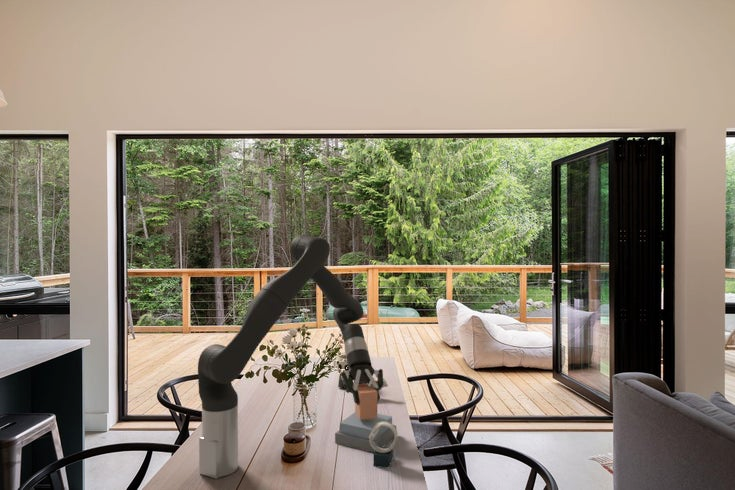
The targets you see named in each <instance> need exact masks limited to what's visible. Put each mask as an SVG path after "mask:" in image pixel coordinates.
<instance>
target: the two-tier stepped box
mask: <svg viewBox="0 0 735 490" xmlns="http://www.w3.org/2000/svg"><path fill="white" fill-rule="evenodd" d="M381 421H384V422H389V423H391V424H392V425H393V426H394V427H395V428H396V429H397V425H396V424H393V416H392V415H391V416H390V415H387V414H381V413H377V418H370V419H362V420H360V419H359V418H358V416H357V415H356V413H355V412H353V413H352V414H351V415H349V416H348V417H346V418H345V419H343V420H342V421H340V422H339V430H338V431H336V432H335V433H334V436H335V437H334V443H335V444H336V445H337V444H338V445H341V446H345V447H346V446H347V447H350V448H355V449H359V450H363V451H367V452H369V453H370V452H371V453H373V454H374V453H375V451H376V450H374V449H373V448H372V446H371V444H370V442H369V440H370V438H369V435H370V434H371V432H372V430H373V429H374V427H375V425H376V424H377V423H380V422H381ZM394 436H395V434H394V432H393V431H392V429H390V428H389V427H386V426H381V428H380V430H379V431H378V433H377V435H376V436H375V438H374V439H373V441H374V443H375V444H376V445H377V446H384V445H385V444H386V445H387V444H388V443H389V442H391V440H392V439H394ZM386 445H385V446H386ZM385 446H384V447H385Z"/></svg>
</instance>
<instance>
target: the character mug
mask: <svg viewBox="0 0 735 490" xmlns="http://www.w3.org/2000/svg"><path fill="white" fill-rule="evenodd" d="M340 355H341V356H339V355H337V357H336V360H338V361H342V360H343V359H346V355H345V354H344V353H342V354H340ZM332 364H333V365H335V364H336V365H337V362H336V361H334V360H333V363H332ZM347 366H348V364H347V362H340V363H339V364H338V365H337V366H336V368H335V369H336V370H337V369H338V368H340V369H345V370H344V372H345V373H347V372H349V368H348V369H346V367H347ZM341 374H342V372H341V373H339V377H338V383H337V386H338V388H340V389H343V388H344V385H343V383H342V381H341V378H340V377H341ZM348 377H349V376H348ZM348 381H349V383H350V385H351V387H353V383H354V380H352V379H351V378H350V377H349V378H348ZM344 389H345V388H344Z"/></svg>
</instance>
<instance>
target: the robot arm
mask: <svg viewBox="0 0 735 490" xmlns="http://www.w3.org/2000/svg"><path fill="white" fill-rule="evenodd" d="M289 247H290V248H289V250H290V251H289V252H290V255H291V258H292V259H293V260H294V261H295V264H294V265H293V266H292V267H291V268H290V269H288V270H286V271H285V272H284V273H282V274H280V275H278V276H277V277H274V278H273V279H271V280H270V281H268V282H267V283H265V284H264V285H263V287H261V288H260V290H259V292H257V294H256V295H255V296H254V297H253V298H252V300H251V301H250V303H249V305H248V306H247V310H246V312H245V316H244V320H243V323H242V325H241V327H240V329H239V331H238V332H237V333H236V334H235V336H234V337H233V338H232V339H231V340H230V342H229V343H228V344H227V345H226V346H225V345H223V344H211V345H208V346H206V347H205V348H204V349H203V350H202V352H201V354H200V355H199V357H198V362H197V381H198V384H197V385H198V394H199V398H200V401H201V437H199V439H198V444H199V445H198V453H199V456H198V457H199V460H198V462H199V470H198V472H199V474H200V475H202V476H206V477H209V478H211V479H215V480H216V479H218V478H221V477H225V476H228V475H231V474H233V473H234V472H236V471H237V470H238V468H239V396H238V392H237V391H236V389H235V388H234V387H233V383H232V382H234V381H235V380H237V378H238V377H240V375H241V373H242V372H243V371H244V370H245V367H246V366H247V365H248V363H249V361H250V360H251V357H252V356H253V355H254V353H255V351H256V350H257V348H258V347H259V345H260V344H261V342H262V341H263V340H264V339H265V337H266V336H267V335H268V333H269V332H270V331H271V329H272V328H273V326H274V325H275V324H276V323H277V322H278V321H279V319H280V317H282V315H283V314H284V312H285V311H286V310H287V309H288V307H289V306H290V304H291V302H292V301H293V300H294V298H296V297H297V295H298V294H299V293H300V292H301V290H302V289H303V288H304V286H305V285H306V284H307V283H308V282H309V281H310V280H313V282H314V283H315V284H316V285H317V287H318V288H319V289H320V291H321V292H322V294H323V295H324V297H325V298H326V300H327V301H328V304H329V305H330V306H331V307H332V308H334V309H333V312H332V316H333V320H334V321H335V323H336V324H337V326H338V328H339V330H340V332H341V335H342V339H343V340H342V341H343V344H344V345H343V346H344V353H345V355H346V359H347V364H348V368H349V372H347V373H345V372H342V374H341V377H340V378H341V381H342V383H343V385H344V387H343V388H345V392H346V393H347V394H349V393H350V394H352V398H353V402H354V404H355V403H356V404H357V405H359V403H360V399H359V395H358V391H357V388H358V384H362V383H364V384H368V385H369V386H372V387H373V388H374V389H375V390H376V391H377V392H378V397H377V404H378V403H379V401H380V399H381V396H380V391H382V389H383V388H382V386H383V378H384V374H383V373H384V370H383V369H382V368H379V369H375V368H374V367H373V366H372V361H371V357H370V356H371V355H370V353H369V348H368V346H367V345H368V344H367V342H366V340H365V335H364V331H363V327H362V326H361V325H360V324H358V323H355V322H356V321H359V320H361V319H362V318H363V316H364V312H365V311H364V309H363V306H362V304H361V303H360V302H359V301H358V300H357V299H356V298H354V296H352V295H350V293H349V292H348V291H347V290H346V288H345V287H344V285H343V283H342V281H341V280H340V279H339V278H338V277H337V276H336V275H335V274H334V273H333V272H332V271H330V270H329V269H328V268H327V266H325V265H324V264H326V262H327V260H328V258H329V256H330V252H331V247H330V244H329V242H328V241H327V240H326V239H325V238H323V237H319V236H312V235H309V234H308V235H307V234H301V235H297V236H296V237H294V238H293V239H292V241H291V243H290V246H289ZM348 376H349V377H350V378H351V379H352V380H353V383H354V384H353V387H351V385H350V383H349V381H348V378H349V377H348ZM373 376H375V377H376V379H378V385H377V384H376V382H375V377H373ZM381 388H382V389H381ZM379 390H380V391H379Z"/></svg>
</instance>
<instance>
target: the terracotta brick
mask: <svg viewBox="0 0 735 490" xmlns="http://www.w3.org/2000/svg"><path fill="white" fill-rule="evenodd" d="M357 391H358V395H359V399H360V403H359V405H357V404H356V403H355V402H354V413H356V415H357V416H358V418H359V419H360V420H362V419H370V418H377V414H378V403H377V397H378V392H377V391H376V390H375V389H374V388H373V387H372V386H368V387H358V388H357Z"/></svg>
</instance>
